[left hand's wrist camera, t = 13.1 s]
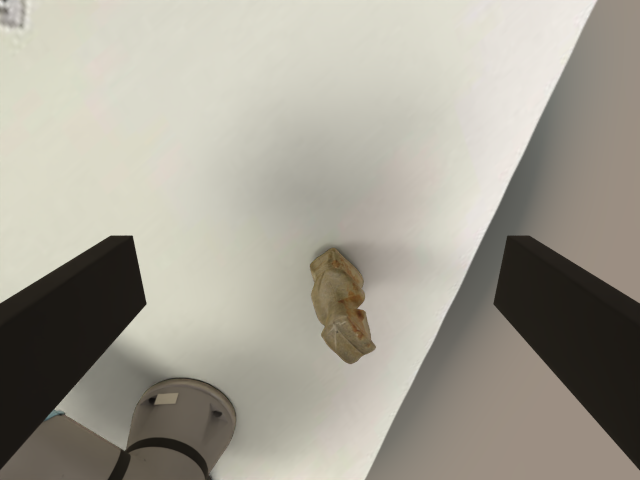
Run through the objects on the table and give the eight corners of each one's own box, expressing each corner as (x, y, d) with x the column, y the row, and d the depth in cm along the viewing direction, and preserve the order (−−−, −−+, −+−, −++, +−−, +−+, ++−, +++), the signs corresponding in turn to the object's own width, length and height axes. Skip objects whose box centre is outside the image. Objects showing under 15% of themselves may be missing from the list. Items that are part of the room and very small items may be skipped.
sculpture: (333, 298, 47) (338, 379, 33) (302, 258, 45) (294, 326, 31) (369, 276, 46) (391, 350, 32) (339, 235, 44) (348, 294, 30)
